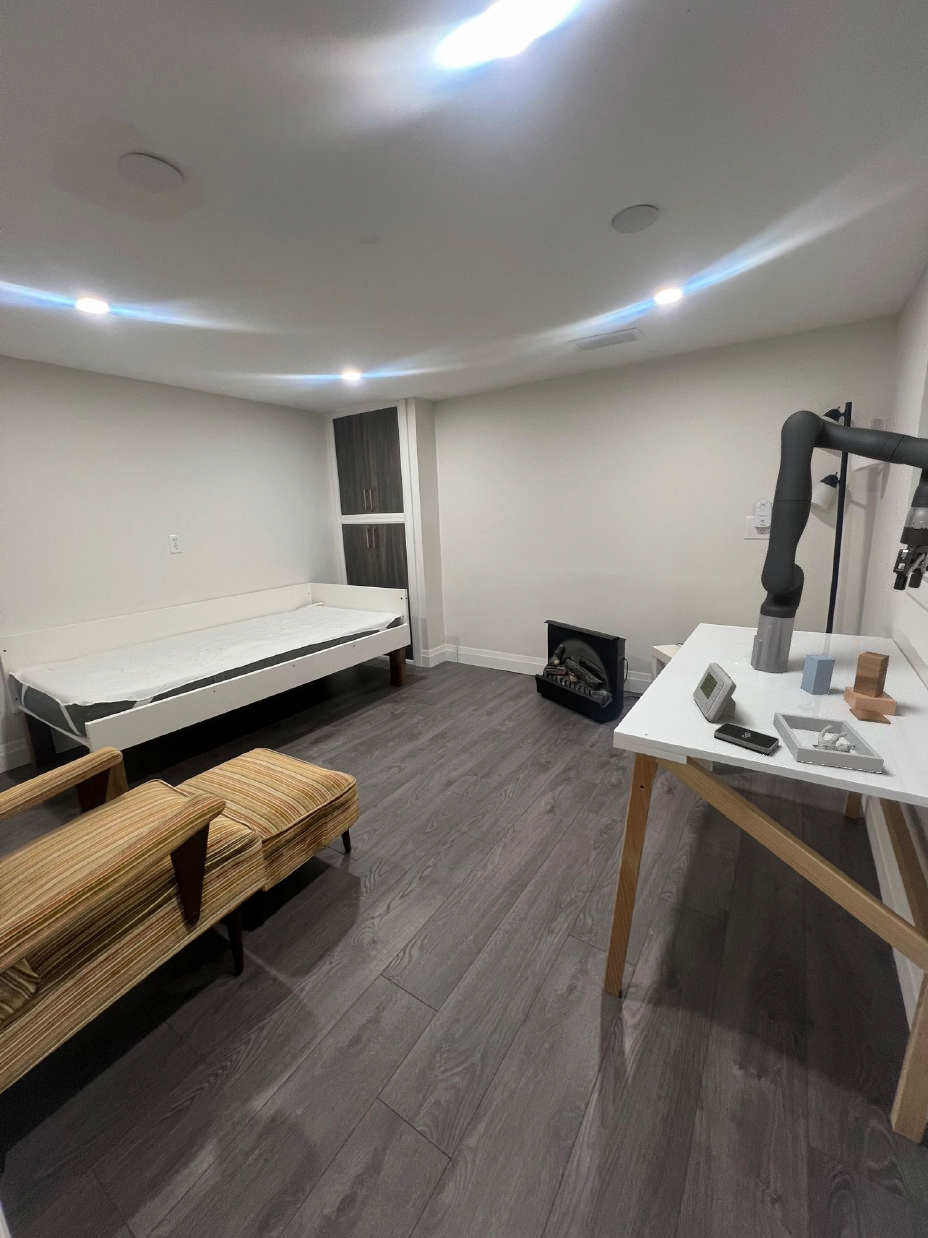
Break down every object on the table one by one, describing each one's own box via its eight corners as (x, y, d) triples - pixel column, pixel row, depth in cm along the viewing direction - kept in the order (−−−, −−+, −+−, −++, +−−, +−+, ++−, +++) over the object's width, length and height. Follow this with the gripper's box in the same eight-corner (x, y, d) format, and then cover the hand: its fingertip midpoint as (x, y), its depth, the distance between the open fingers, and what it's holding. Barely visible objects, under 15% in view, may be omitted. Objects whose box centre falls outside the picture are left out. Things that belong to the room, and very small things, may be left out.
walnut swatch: (859, 720, 115) (859, 718, 115) (849, 710, 121) (849, 708, 121) (890, 724, 113) (890, 721, 113) (878, 713, 119) (878, 711, 119)
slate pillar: (812, 694, 131) (818, 659, 129) (800, 688, 135) (806, 654, 133) (828, 694, 131) (835, 659, 129) (816, 688, 135) (822, 654, 133)
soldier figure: (865, 759, 100) (853, 760, 92) (840, 767, 103) (826, 770, 95) (841, 724, 104) (827, 722, 96) (817, 733, 107) (802, 732, 99)
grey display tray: (796, 761, 97) (798, 748, 96) (772, 724, 113) (774, 712, 113) (881, 774, 92) (884, 759, 92) (844, 733, 109) (846, 720, 108)
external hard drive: (767, 758, 99) (769, 749, 99) (711, 739, 107) (712, 731, 107) (778, 747, 103) (780, 738, 103) (724, 730, 112) (725, 722, 111)
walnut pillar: (874, 697, 119) (881, 659, 117) (853, 691, 123) (859, 654, 121) (882, 693, 122) (889, 655, 119) (861, 688, 125) (867, 651, 123)
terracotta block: (853, 712, 121) (856, 697, 120) (843, 700, 128) (845, 686, 127) (893, 717, 118) (897, 701, 117) (880, 705, 125) (883, 690, 124)
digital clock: (692, 696, 130) (696, 659, 127) (730, 702, 126) (735, 663, 124) (692, 720, 115) (697, 679, 113) (735, 727, 112) (741, 684, 109)
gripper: (917, 524, 129) (900, 584, 133) (892, 524, 122) (876, 587, 126) (955, 527, 122) (936, 590, 126) (931, 527, 116) (912, 593, 120)
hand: (906, 588), depth 126 cm, fingers open, 8 cm apart
